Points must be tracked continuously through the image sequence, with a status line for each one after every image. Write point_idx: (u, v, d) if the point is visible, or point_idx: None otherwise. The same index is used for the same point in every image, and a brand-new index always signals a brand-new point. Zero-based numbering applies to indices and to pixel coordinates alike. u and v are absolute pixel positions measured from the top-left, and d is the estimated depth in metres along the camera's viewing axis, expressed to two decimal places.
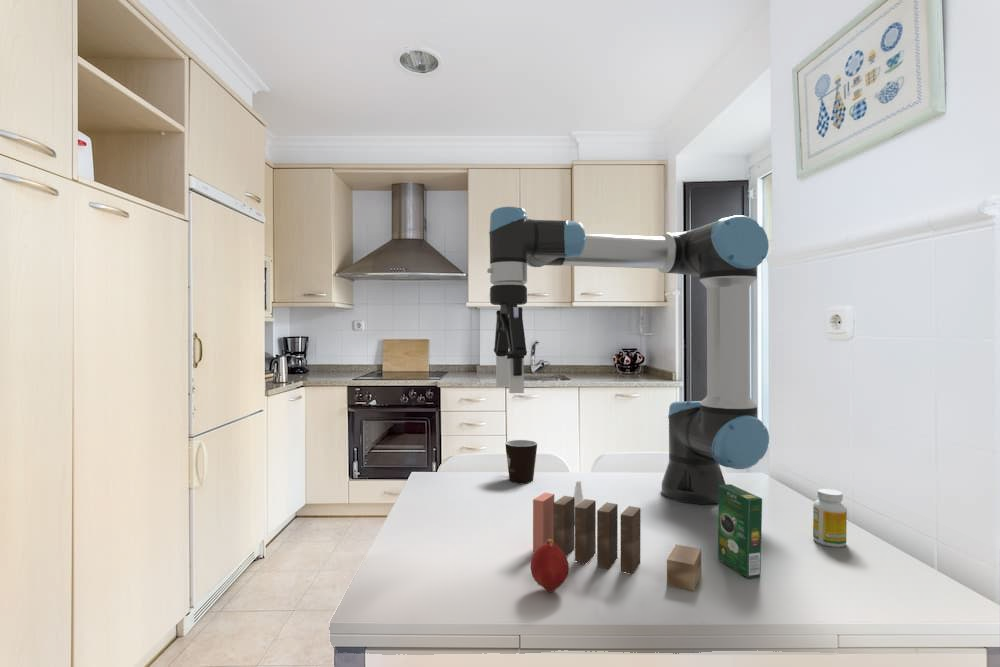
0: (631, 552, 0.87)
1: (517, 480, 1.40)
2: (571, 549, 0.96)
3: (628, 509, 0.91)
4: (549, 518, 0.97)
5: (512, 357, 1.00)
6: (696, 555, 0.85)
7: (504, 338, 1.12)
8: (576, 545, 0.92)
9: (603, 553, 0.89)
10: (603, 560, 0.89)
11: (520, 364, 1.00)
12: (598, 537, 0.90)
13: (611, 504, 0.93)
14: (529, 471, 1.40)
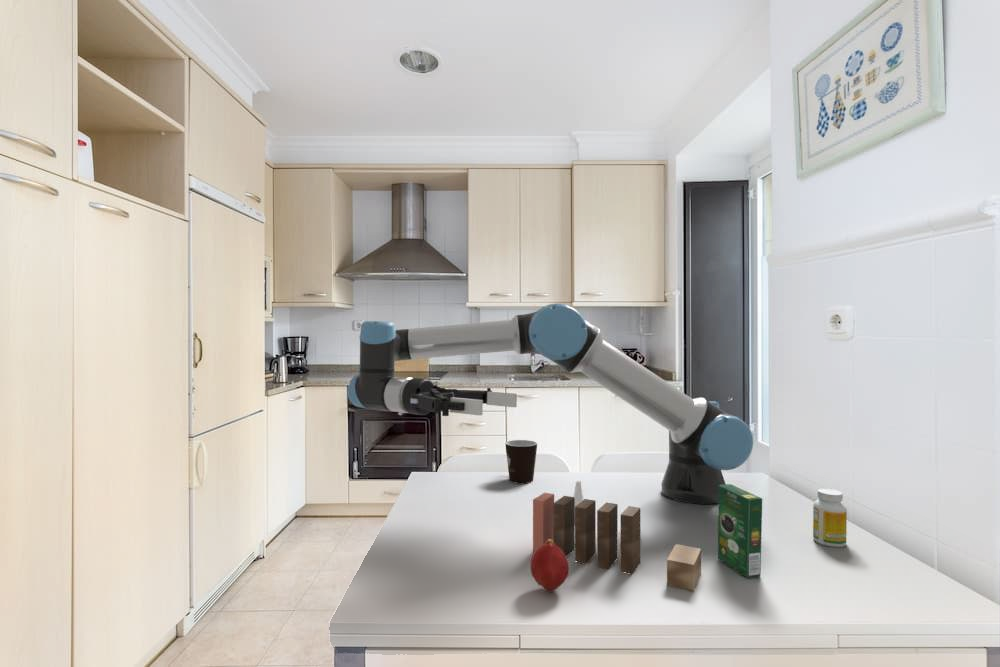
0: (631, 552, 0.87)
1: (517, 480, 1.40)
2: (571, 549, 0.96)
3: (628, 509, 0.91)
4: (549, 518, 0.97)
5: (445, 411, 0.98)
6: (696, 555, 0.85)
7: (465, 397, 1.11)
8: (576, 545, 0.92)
9: (603, 553, 0.89)
10: (603, 560, 0.89)
11: (451, 403, 0.97)
12: (598, 537, 0.90)
13: (611, 504, 0.93)
14: (529, 471, 1.40)
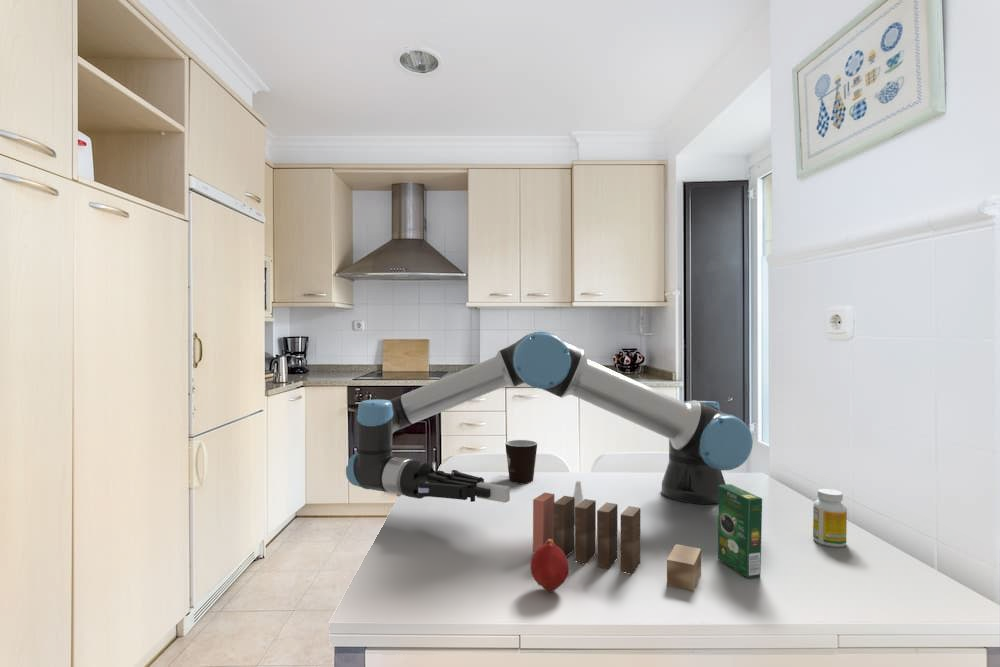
0: (631, 552, 0.87)
1: (517, 480, 1.40)
2: (571, 549, 0.96)
3: (628, 509, 0.91)
4: (549, 518, 0.97)
5: (474, 496, 1.03)
6: (696, 555, 0.85)
7: None
8: (576, 545, 0.92)
9: (603, 553, 0.89)
10: (603, 560, 0.89)
11: (477, 490, 1.02)
12: (598, 537, 0.90)
13: (611, 504, 0.93)
14: (529, 471, 1.40)
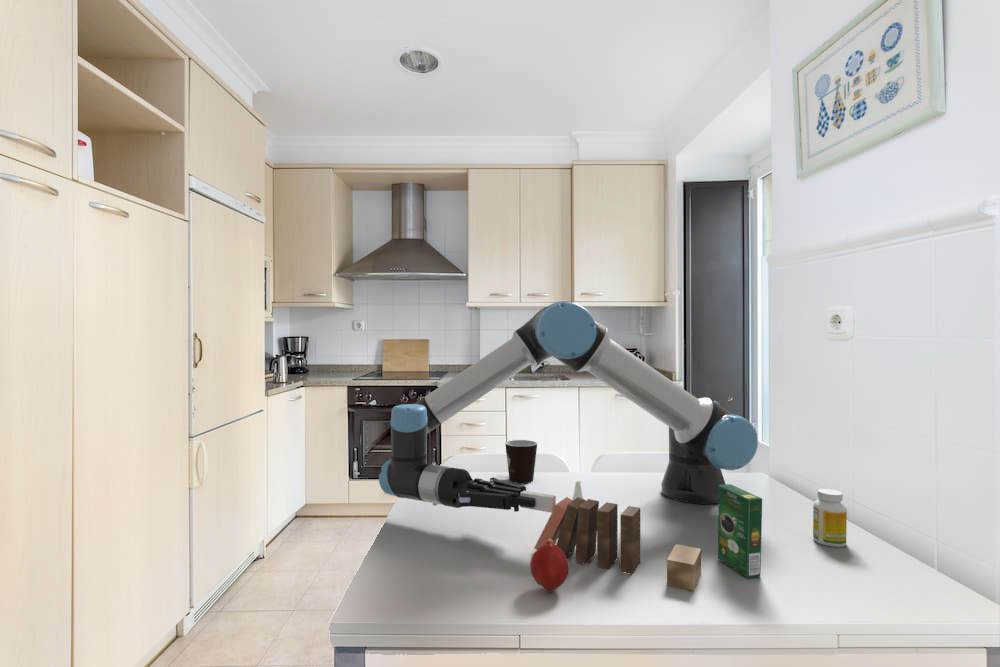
0: (631, 552, 0.87)
1: (517, 480, 1.40)
2: (572, 549, 0.96)
3: (628, 509, 0.91)
4: None
5: (517, 506, 0.98)
6: (696, 555, 0.85)
7: None
8: (577, 545, 0.92)
9: (603, 553, 0.89)
10: (603, 560, 0.89)
11: (522, 499, 0.97)
12: (598, 537, 0.90)
13: (611, 504, 0.93)
14: (529, 471, 1.40)
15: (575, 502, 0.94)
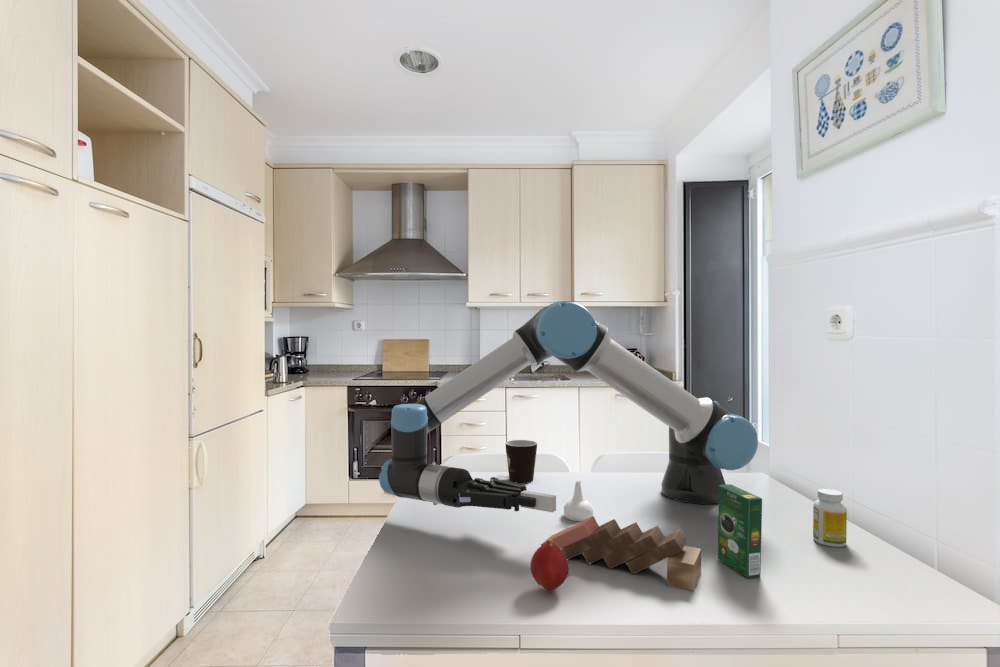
0: (649, 564, 0.85)
1: (517, 480, 1.40)
2: None
3: (679, 534, 0.86)
4: None
5: (518, 506, 0.98)
6: (696, 555, 0.85)
7: None
8: (596, 548, 0.90)
9: (618, 558, 0.88)
10: (613, 561, 0.88)
11: (522, 499, 0.97)
12: (628, 547, 0.87)
13: (660, 533, 0.89)
14: (529, 471, 1.40)
15: (611, 527, 0.91)
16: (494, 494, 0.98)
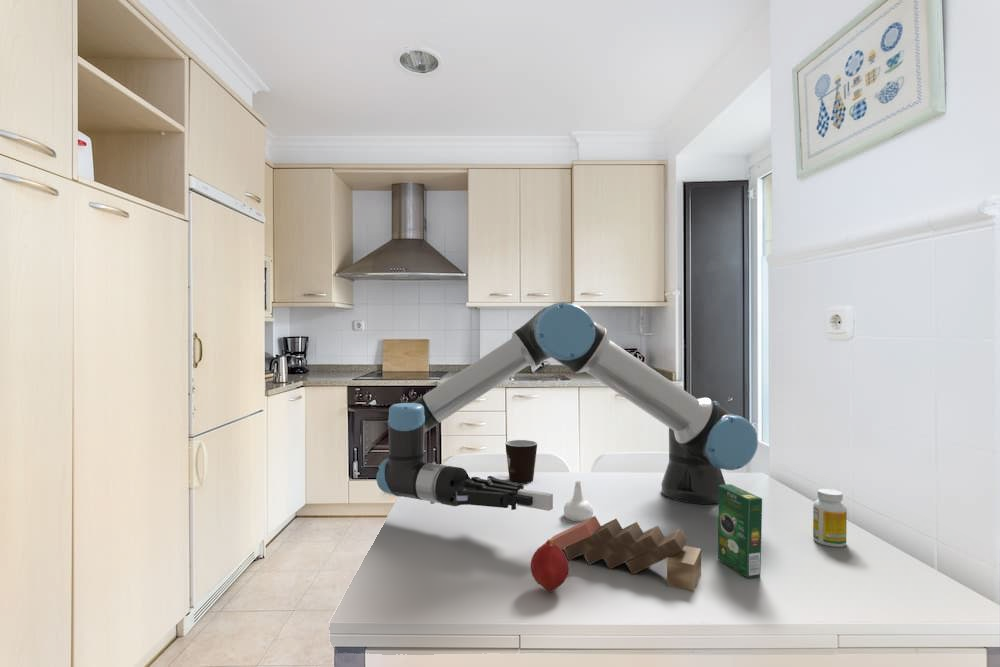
0: (649, 564, 0.85)
1: (517, 480, 1.40)
2: None
3: (679, 534, 0.86)
4: None
5: (515, 504, 0.99)
6: (696, 555, 0.85)
7: None
8: (597, 548, 0.90)
9: (618, 558, 0.88)
10: (613, 561, 0.88)
11: (519, 498, 0.98)
12: (628, 547, 0.87)
13: (660, 533, 0.89)
14: (529, 471, 1.40)
15: (613, 526, 0.91)
16: (491, 493, 0.98)
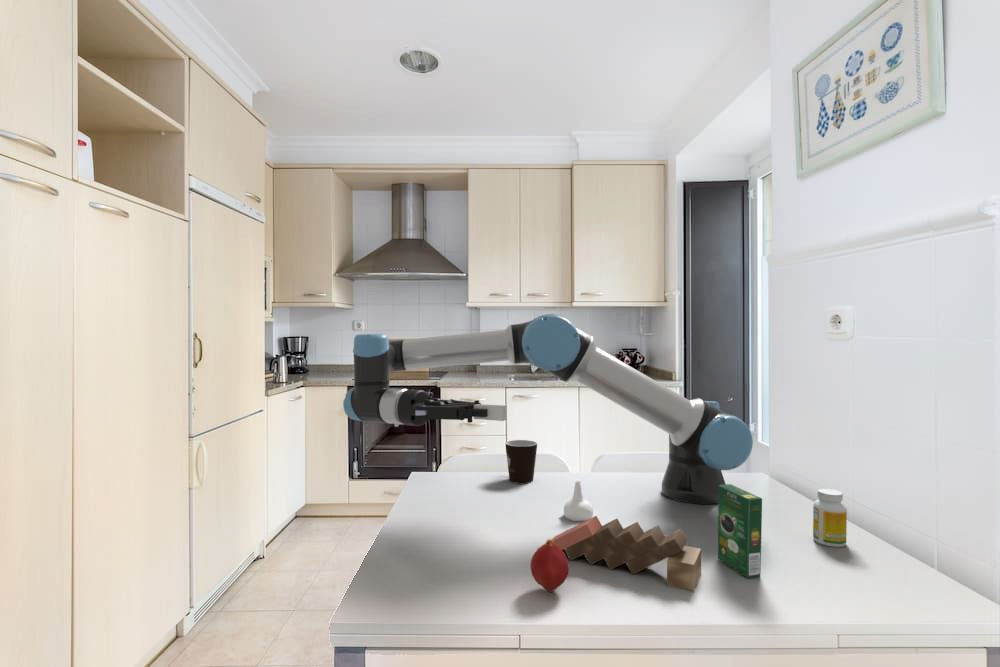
0: (649, 564, 0.85)
1: (517, 480, 1.40)
2: None
3: (679, 534, 0.86)
4: None
5: (471, 417, 1.03)
6: (696, 555, 0.85)
7: None
8: (598, 548, 0.90)
9: (619, 558, 0.88)
10: (613, 561, 0.88)
11: (474, 410, 1.02)
12: (629, 547, 0.87)
13: (661, 532, 0.89)
14: (529, 471, 1.40)
15: (614, 526, 0.91)
16: (448, 406, 1.03)
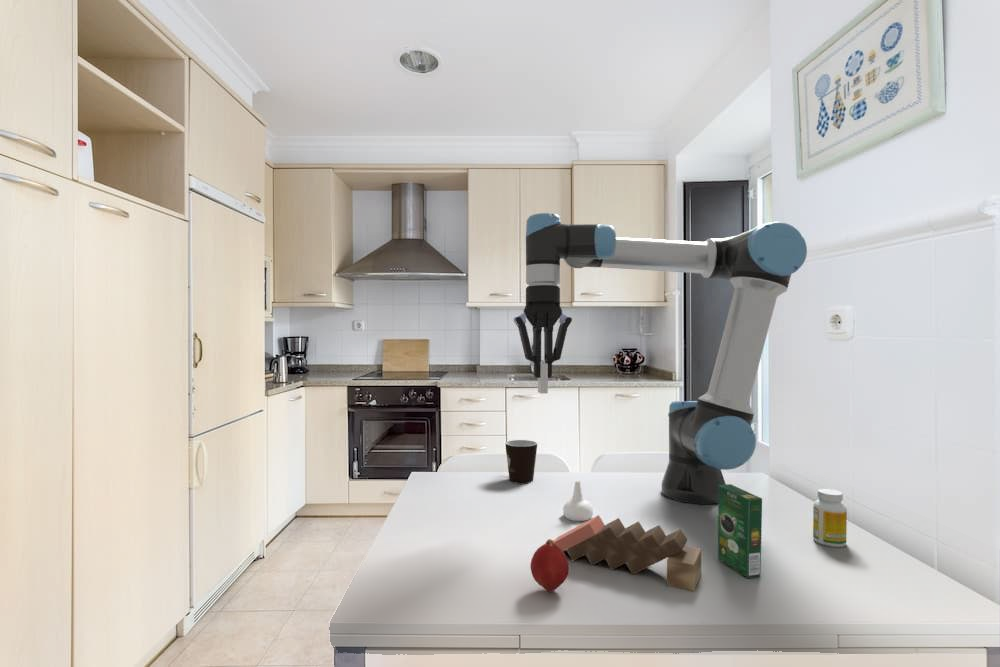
0: (650, 564, 0.85)
1: (517, 480, 1.40)
2: None
3: (679, 533, 0.86)
4: None
5: None
6: (696, 555, 0.85)
7: (545, 338, 1.17)
8: (599, 548, 0.90)
9: (620, 558, 0.88)
10: (615, 561, 0.88)
11: (534, 367, 1.16)
12: (630, 547, 0.87)
13: (662, 532, 0.89)
14: (529, 471, 1.40)
15: (615, 526, 0.90)
16: (527, 346, 1.15)
